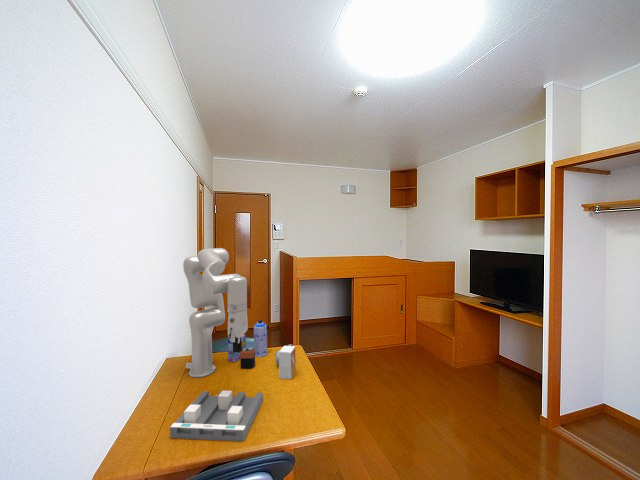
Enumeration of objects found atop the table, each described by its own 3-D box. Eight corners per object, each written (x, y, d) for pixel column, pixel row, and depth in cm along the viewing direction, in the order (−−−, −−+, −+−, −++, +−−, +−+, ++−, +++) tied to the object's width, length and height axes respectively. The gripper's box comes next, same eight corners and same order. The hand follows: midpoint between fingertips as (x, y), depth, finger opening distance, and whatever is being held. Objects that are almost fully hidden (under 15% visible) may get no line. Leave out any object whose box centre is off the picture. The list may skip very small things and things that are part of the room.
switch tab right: (227, 427, 94) (227, 412, 93) (232, 420, 97) (232, 405, 97) (238, 428, 93) (238, 413, 93) (243, 420, 97) (242, 406, 97)
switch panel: (170, 437, 92) (170, 426, 92) (203, 399, 114) (203, 390, 114) (243, 441, 89) (243, 429, 89) (262, 401, 111) (262, 392, 111)
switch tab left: (184, 426, 95) (184, 411, 95) (190, 418, 99) (190, 404, 99) (195, 426, 94) (194, 411, 94) (201, 419, 98) (200, 404, 98)
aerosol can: (270, 352, 159) (269, 319, 159) (262, 358, 152) (261, 323, 152) (259, 350, 163) (258, 317, 163) (251, 355, 155) (250, 321, 155)
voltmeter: (299, 369, 138) (298, 350, 138) (277, 373, 135) (276, 353, 135) (289, 349, 164) (289, 333, 164) (270, 352, 160) (270, 335, 160)
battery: (252, 369, 139) (252, 350, 139) (240, 369, 140) (239, 350, 140) (255, 365, 144) (255, 346, 144) (243, 365, 144) (242, 346, 144)
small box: (291, 379, 128) (291, 352, 128) (278, 378, 129) (278, 351, 129) (296, 371, 136) (295, 346, 136) (284, 370, 137) (283, 345, 137)
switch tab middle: (218, 409, 104) (218, 396, 104) (222, 403, 108) (222, 390, 108) (228, 410, 103) (228, 396, 103) (232, 403, 107) (232, 390, 107)
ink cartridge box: (235, 362, 147) (235, 336, 147) (227, 361, 149) (226, 335, 149) (246, 355, 156) (245, 330, 156) (238, 354, 158) (238, 329, 158)
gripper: (238, 313, 101) (238, 360, 101) (252, 302, 115) (252, 344, 116) (219, 312, 101) (220, 359, 102) (236, 302, 116) (236, 343, 117)
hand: (237, 351), depth 109 cm, fingers closed
